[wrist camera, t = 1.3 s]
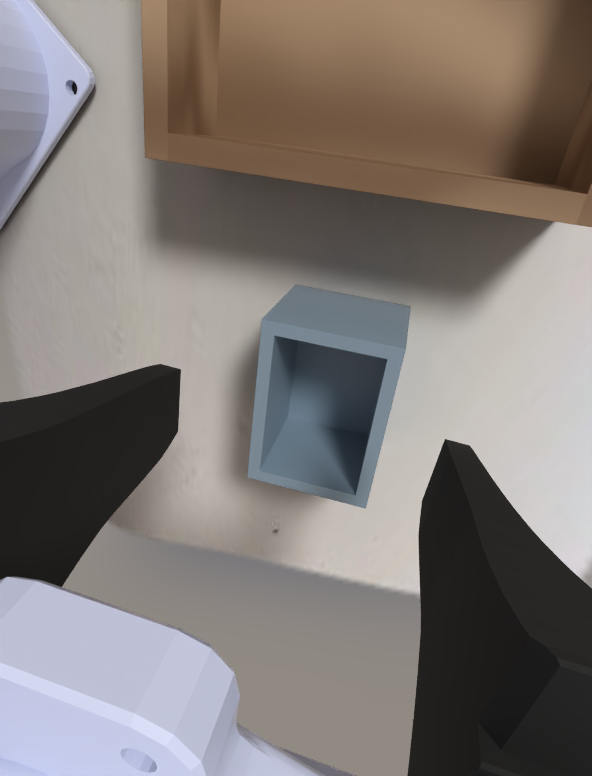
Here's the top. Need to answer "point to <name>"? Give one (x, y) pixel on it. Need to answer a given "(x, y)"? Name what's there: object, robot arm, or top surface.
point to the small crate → (325, 391)
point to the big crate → (381, 97)
